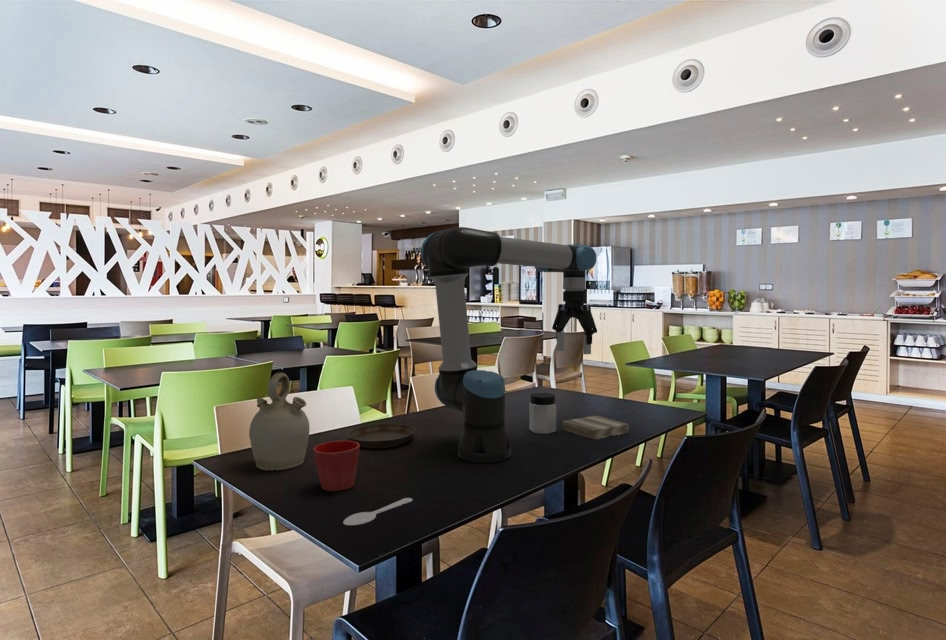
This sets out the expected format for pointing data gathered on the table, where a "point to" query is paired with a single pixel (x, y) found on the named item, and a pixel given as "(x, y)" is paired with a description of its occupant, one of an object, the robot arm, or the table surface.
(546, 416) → the jar
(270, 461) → the jug
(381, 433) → the plant saucer
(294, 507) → the table surface
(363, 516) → the spoon
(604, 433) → the base board
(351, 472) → the flower pot
